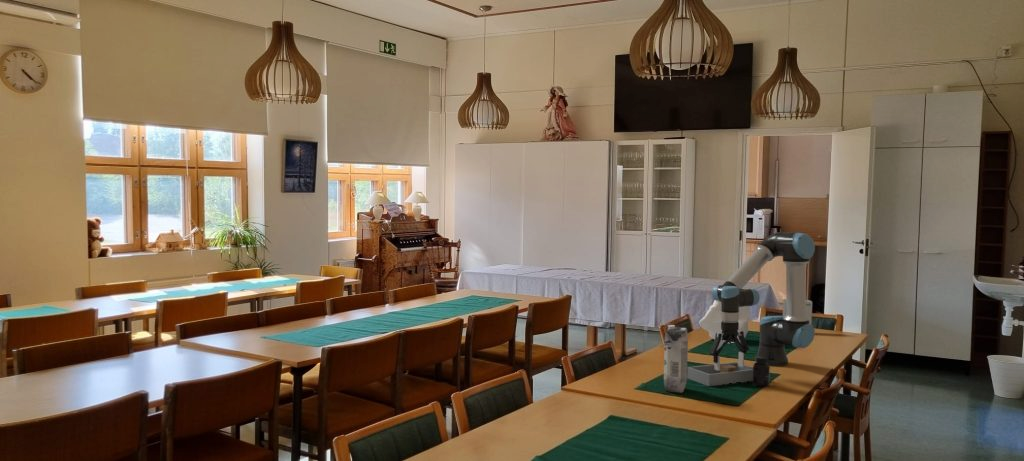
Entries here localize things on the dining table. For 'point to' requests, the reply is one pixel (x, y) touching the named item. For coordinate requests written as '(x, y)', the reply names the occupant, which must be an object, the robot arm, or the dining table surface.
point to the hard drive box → (808, 309)
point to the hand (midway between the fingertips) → (729, 368)
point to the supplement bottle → (761, 372)
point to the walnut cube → (727, 368)
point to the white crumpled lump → (713, 320)
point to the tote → (719, 374)
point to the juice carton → (675, 359)
